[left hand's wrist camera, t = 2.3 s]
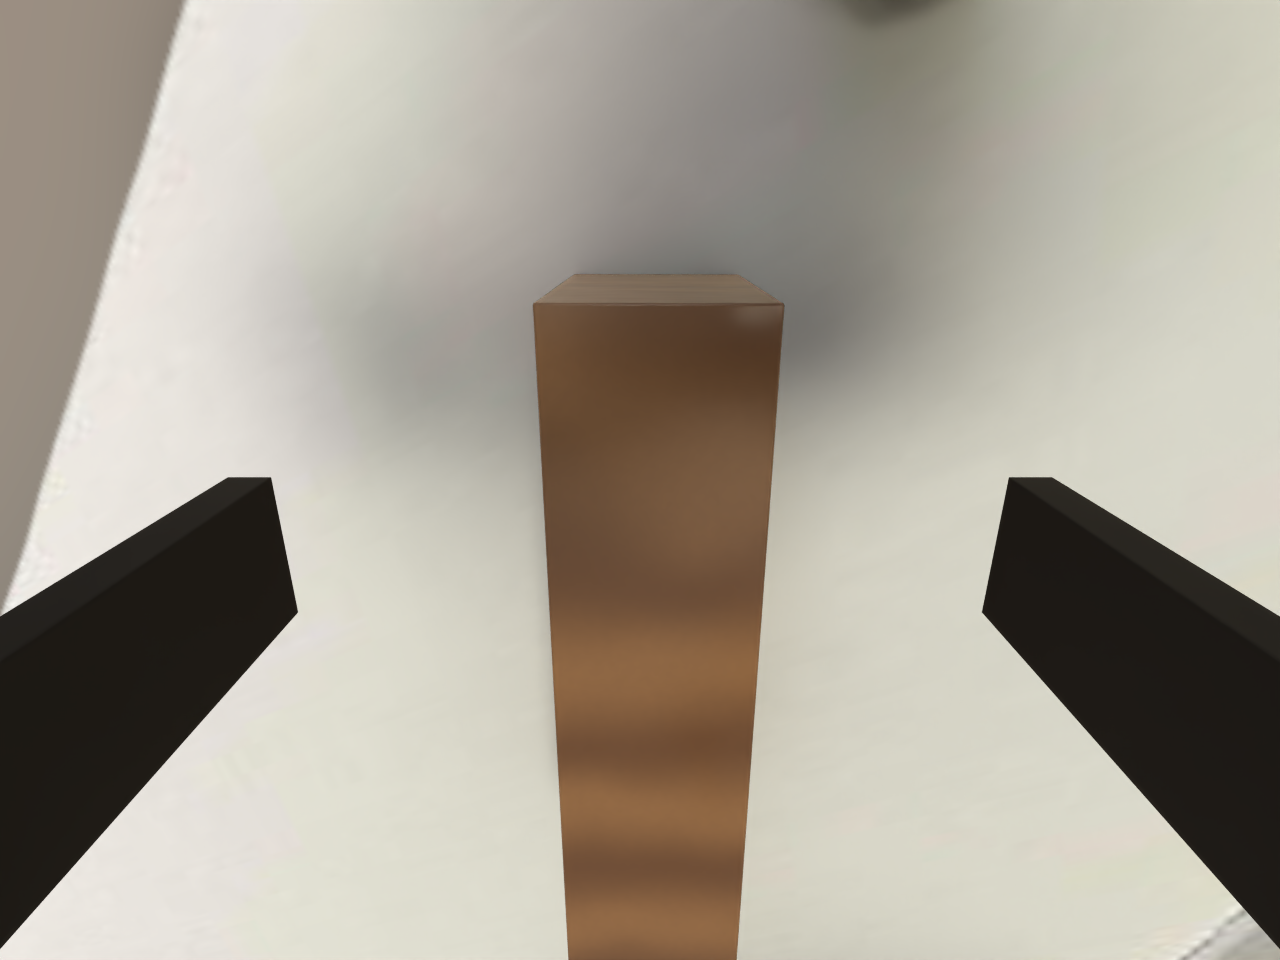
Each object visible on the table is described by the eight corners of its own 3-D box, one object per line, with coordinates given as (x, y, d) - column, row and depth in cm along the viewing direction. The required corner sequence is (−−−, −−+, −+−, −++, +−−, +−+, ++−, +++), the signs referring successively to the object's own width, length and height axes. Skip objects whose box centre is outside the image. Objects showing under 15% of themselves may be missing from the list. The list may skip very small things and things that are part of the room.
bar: (573, 274, 23) (532, 302, 15) (739, 274, 23) (784, 303, 15) (590, 778, 31) (568, 973, 23) (713, 780, 31) (735, 975, 23)
